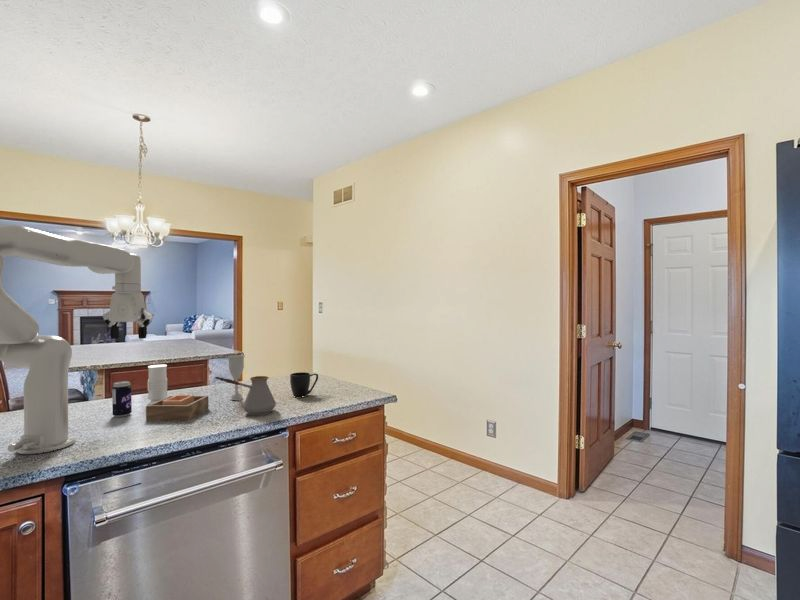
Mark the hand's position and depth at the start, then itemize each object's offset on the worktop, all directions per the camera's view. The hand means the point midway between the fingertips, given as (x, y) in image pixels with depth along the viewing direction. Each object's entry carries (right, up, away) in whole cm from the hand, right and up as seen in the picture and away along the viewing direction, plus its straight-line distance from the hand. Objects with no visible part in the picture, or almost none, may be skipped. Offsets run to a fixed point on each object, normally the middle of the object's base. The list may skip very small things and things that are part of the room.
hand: (128, 338), depth 142 cm
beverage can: (-6, -29, +5) cm, 30 cm away
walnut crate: (+14, -28, +6) cm, 32 cm away
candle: (-4, -29, +23) cm, 37 cm away
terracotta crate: (+14, -27, +6) cm, 31 cm away
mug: (+53, -28, +34) cm, 69 cm away
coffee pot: (+39, -28, +5) cm, 48 cm away
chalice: (+26, -28, +28) cm, 48 cm away
